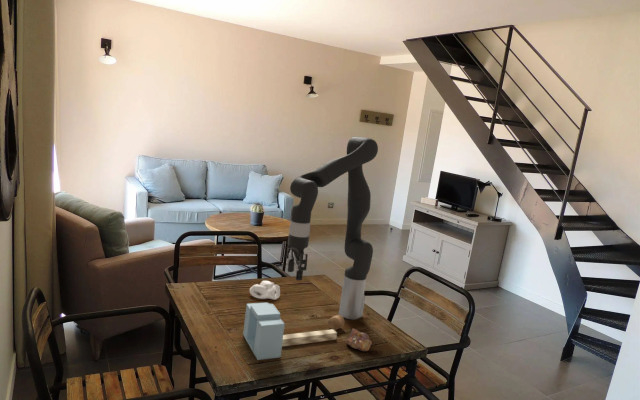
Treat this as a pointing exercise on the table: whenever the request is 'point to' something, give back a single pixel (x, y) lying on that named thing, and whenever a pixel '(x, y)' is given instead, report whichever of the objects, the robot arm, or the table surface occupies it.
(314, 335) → the long cream stick
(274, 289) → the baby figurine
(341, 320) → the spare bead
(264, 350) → the light blue notched block
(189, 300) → the table surface
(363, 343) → the mineral specimen
